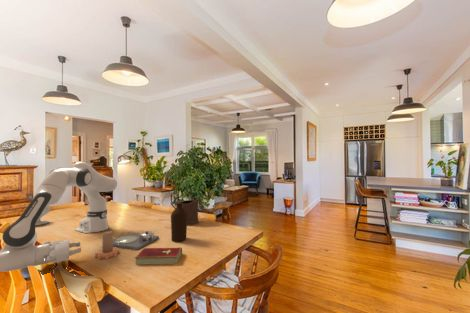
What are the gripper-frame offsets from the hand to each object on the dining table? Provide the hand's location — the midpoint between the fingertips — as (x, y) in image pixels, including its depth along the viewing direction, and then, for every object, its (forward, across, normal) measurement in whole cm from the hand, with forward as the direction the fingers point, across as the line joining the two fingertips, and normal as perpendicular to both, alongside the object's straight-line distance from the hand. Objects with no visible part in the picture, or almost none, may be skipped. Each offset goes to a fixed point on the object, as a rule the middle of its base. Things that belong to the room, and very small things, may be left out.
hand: (80, 246), depth 110 cm
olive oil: (+53, -1, +7) cm, 53 cm away
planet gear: (+12, 0, +7) cm, 14 cm away
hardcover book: (+33, -22, +8) cm, 40 cm away
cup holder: (+72, +33, +7) cm, 80 cm away
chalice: (-24, +100, +7) cm, 103 cm away
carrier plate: (+28, +13, +7) cm, 31 cm away
